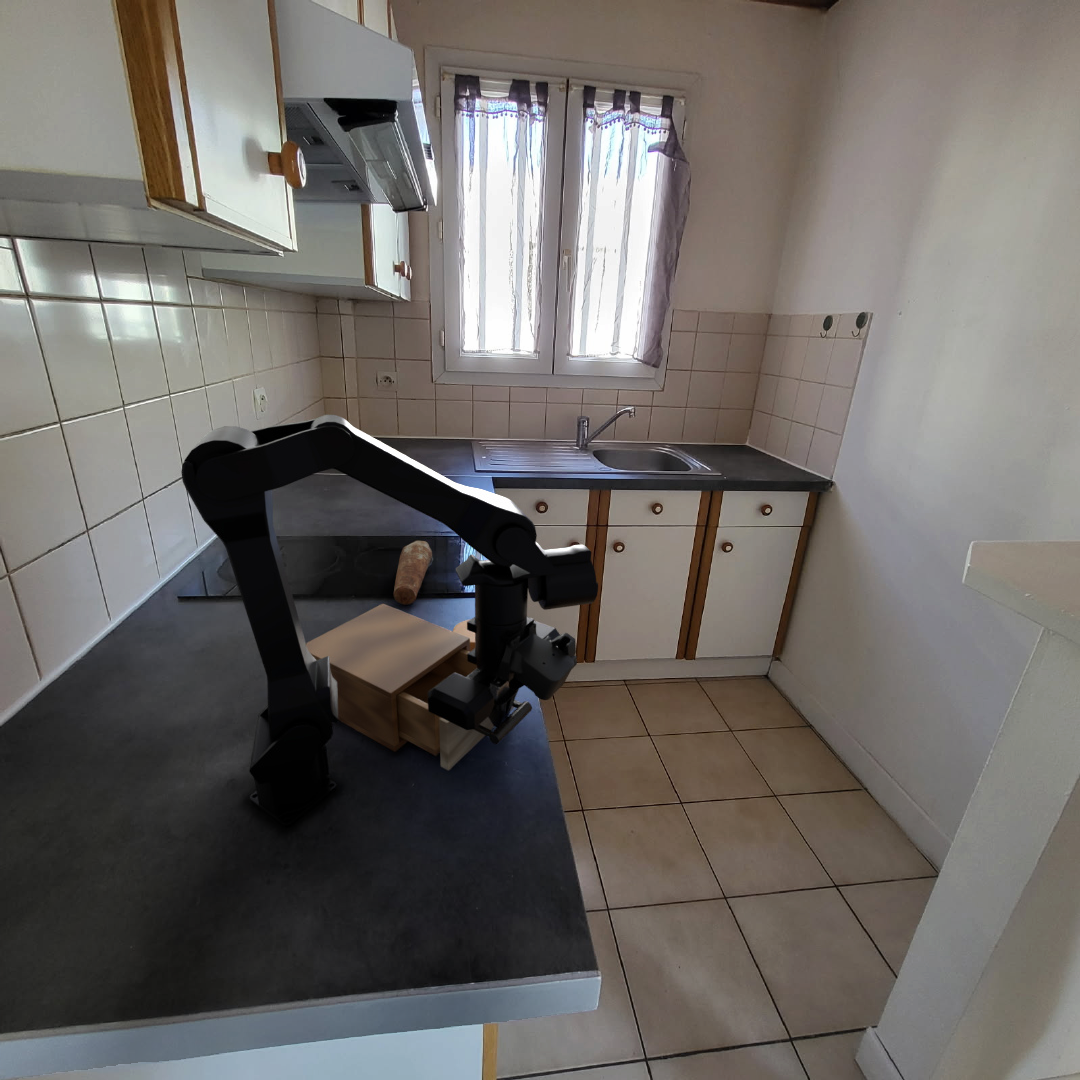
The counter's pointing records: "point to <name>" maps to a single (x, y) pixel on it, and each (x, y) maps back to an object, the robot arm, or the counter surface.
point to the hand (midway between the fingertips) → (499, 726)
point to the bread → (411, 571)
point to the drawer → (438, 731)
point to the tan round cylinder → (465, 632)
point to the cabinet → (382, 665)
